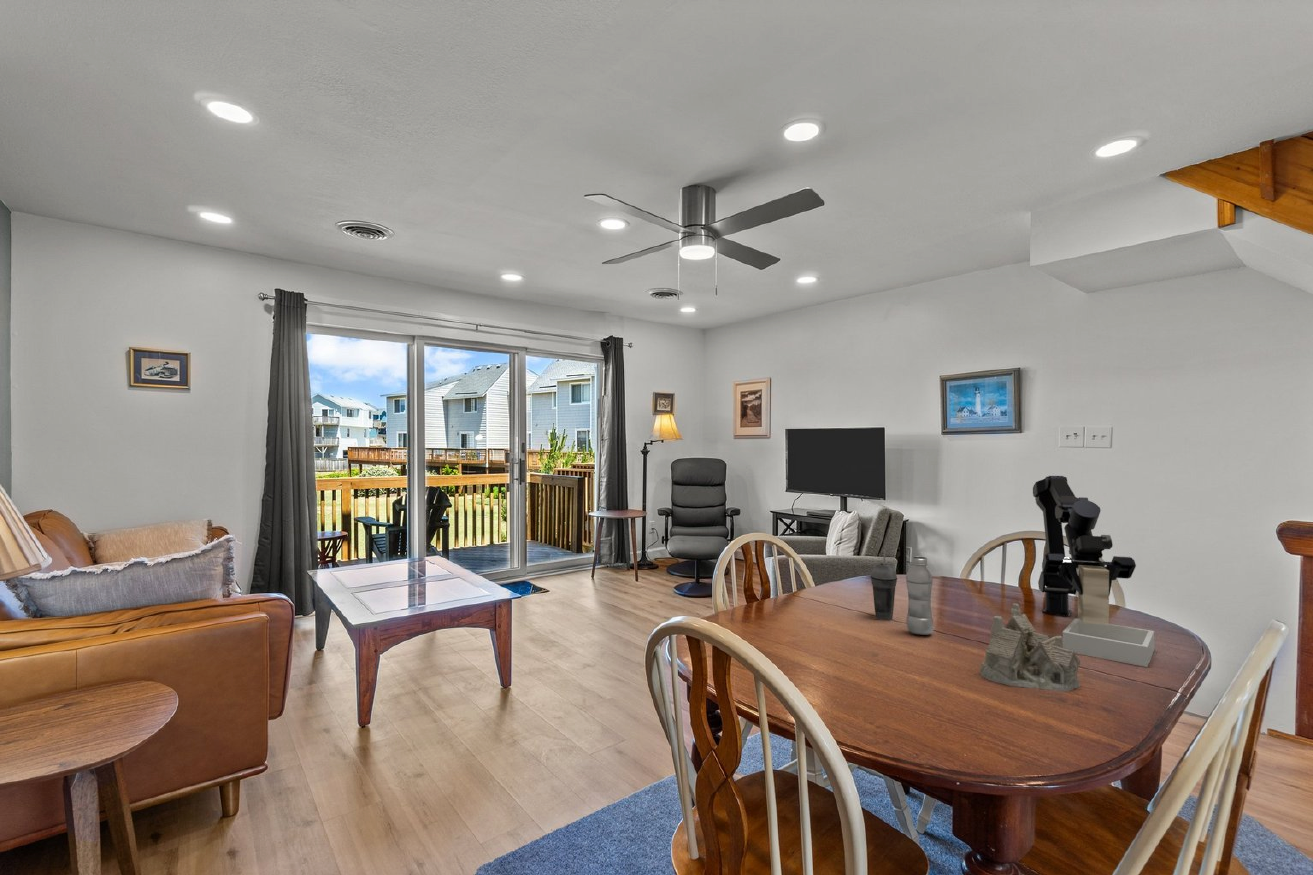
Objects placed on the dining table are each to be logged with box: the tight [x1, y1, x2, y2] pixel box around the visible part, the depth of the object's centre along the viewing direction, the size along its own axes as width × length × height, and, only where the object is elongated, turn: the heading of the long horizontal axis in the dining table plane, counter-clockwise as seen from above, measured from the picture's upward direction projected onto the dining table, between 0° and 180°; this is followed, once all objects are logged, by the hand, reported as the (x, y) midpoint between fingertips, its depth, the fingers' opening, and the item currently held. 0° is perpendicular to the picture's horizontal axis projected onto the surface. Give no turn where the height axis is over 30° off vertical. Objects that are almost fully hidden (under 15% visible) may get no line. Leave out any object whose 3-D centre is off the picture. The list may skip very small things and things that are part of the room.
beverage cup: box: [870, 548, 898, 621], centre depth 176 cm, size 7×7×20 cm
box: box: [1062, 618, 1155, 668], centre depth 148 cm, size 16×16×4 cm
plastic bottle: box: [905, 556, 935, 636], centre depth 161 cm, size 6×7×20 cm
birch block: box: [1077, 565, 1110, 625], centre depth 149 cm, size 5×5×13 cm
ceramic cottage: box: [979, 603, 1081, 692], centre depth 130 cm, size 16×16×15 cm
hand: (1095, 594), depth 147 cm, fingers closed on birch block, 5 cm apart
